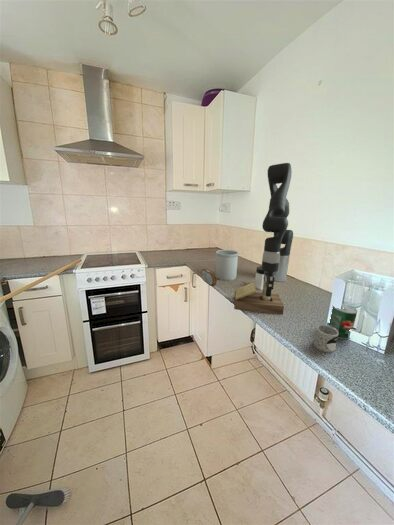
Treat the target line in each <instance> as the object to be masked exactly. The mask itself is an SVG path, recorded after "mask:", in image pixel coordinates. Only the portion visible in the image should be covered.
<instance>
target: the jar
mask: <svg viewBox="0 0 394 525" xmlns="http://www.w3.org/2000/svg"><path fill="white" fill-rule="evenodd" d="M261 267H262V265H261V266H257V267H256V271H255V279H254V280H255V281H254V285H255V289H256V290H257V289H258V290H261V291H263V283H264V279H263V278H264V270H262V268H261Z"/></svg>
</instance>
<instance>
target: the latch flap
mask: <svg viewBox="0 0 394 525" xmlns="http://www.w3.org/2000/svg"><path fill="white" fill-rule="evenodd" d="M235 290H236V300H238V299H240V298H243V297H245V296H247V295H250V294H252V293H255V292H257V288H255V281H254V282H251V283H248V284H245V285H243V286H241V287H238V288H236V289H235Z"/></svg>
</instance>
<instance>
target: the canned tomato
mask: <svg viewBox="0 0 394 525" xmlns="http://www.w3.org/2000/svg"><path fill="white" fill-rule="evenodd" d="M332 308H333V309H332ZM332 308H331V312H332V314H331V313H330V317H331V319H329V321H330V323H329V322H328V326H330V327H332V328H336V330H337V331H338V333H339V334H338V338H337V339H341V340H349V339H348V333H349V330H350V329H352V328H353V329H354V326H355V323H356V322H355V321H356V318H357V314H358V309H356V308H355V309H348V308H344V309H343V308H342V309H339V308H335V307H334V306H333V305H332Z"/></svg>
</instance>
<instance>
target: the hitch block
mask: <svg viewBox="0 0 394 525" xmlns="http://www.w3.org/2000/svg"><path fill="white" fill-rule="evenodd" d="M233 300H234V302H233V304H234V305H233V309H234V310H237V311H249V312H257V313H265V312H266V314H267V313H269V314H275V315H276V314H277V315H283V314H284V308H285V305H284V303H283V301H282V298H281V297H280V295H279V294H278V293H272V292H271V297H270V301H263V300H262V291H261V292H260V291H256V292H255V293H252V294H250V295H247V296H245V297H243V298H240V299H238V300H236V289H235V290H234V298H233Z"/></svg>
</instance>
